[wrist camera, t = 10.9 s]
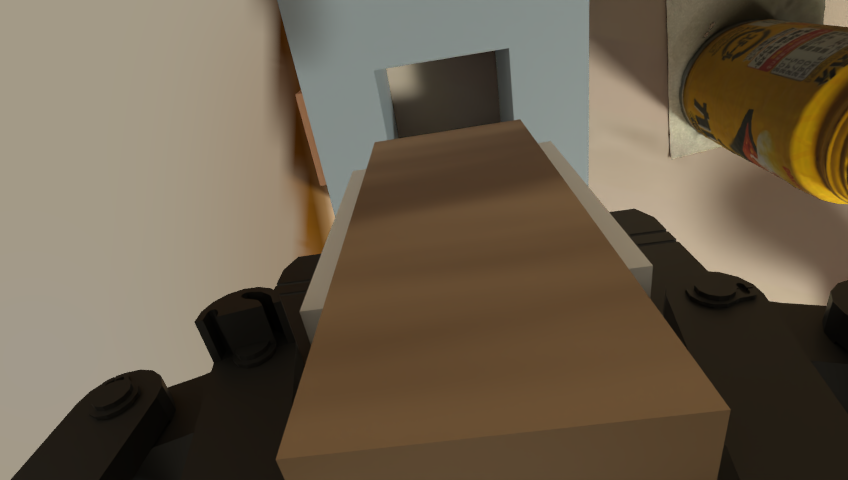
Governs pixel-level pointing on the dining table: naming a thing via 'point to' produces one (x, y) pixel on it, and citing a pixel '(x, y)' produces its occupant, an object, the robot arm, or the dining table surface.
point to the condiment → (762, 88)
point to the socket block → (427, 41)
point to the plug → (491, 334)
